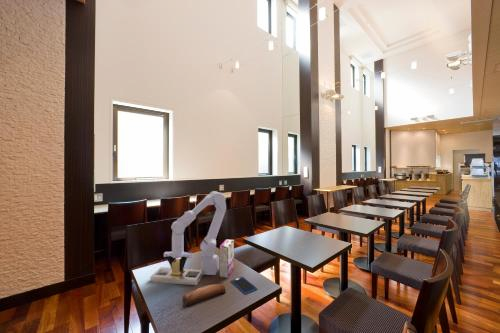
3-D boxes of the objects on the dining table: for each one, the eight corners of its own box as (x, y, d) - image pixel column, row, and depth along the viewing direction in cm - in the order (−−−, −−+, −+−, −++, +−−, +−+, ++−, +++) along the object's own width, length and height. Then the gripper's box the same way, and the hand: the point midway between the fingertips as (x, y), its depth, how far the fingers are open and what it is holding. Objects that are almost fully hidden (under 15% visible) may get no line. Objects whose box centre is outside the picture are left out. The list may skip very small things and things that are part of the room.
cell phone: (242, 277, 112) (242, 276, 112) (258, 290, 100) (258, 288, 100) (230, 281, 108) (230, 280, 108) (245, 295, 96) (245, 294, 96)
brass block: (182, 274, 112) (182, 259, 112) (179, 278, 108) (179, 263, 108) (175, 274, 112) (175, 259, 112) (171, 278, 108) (171, 262, 108)
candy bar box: (225, 267, 122) (225, 238, 122) (234, 268, 121) (234, 239, 121) (219, 277, 111) (219, 246, 111) (228, 278, 110) (228, 246, 110)
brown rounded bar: (217, 284, 105) (220, 275, 102) (223, 297, 100) (226, 289, 97) (180, 296, 95) (183, 287, 92) (185, 312, 90) (187, 303, 87)
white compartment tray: (203, 274, 114) (203, 270, 114) (196, 285, 104) (196, 280, 104) (161, 271, 117) (161, 267, 117) (150, 281, 107) (150, 276, 107)
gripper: (160, 246, 107) (160, 273, 107) (187, 248, 105) (187, 275, 105) (167, 241, 114) (167, 267, 114) (193, 243, 112) (193, 269, 112)
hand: (177, 270), depth 110 cm, fingers closed on brass block, 4 cm apart
